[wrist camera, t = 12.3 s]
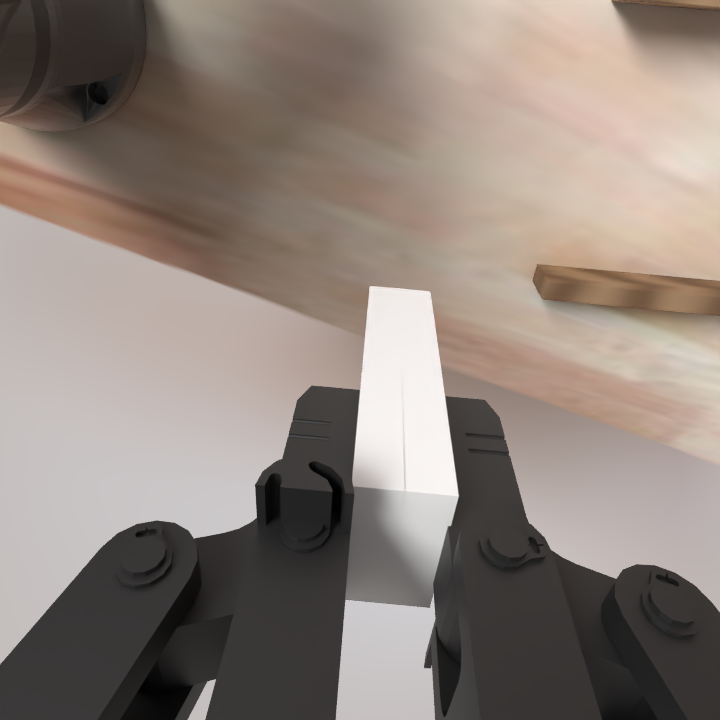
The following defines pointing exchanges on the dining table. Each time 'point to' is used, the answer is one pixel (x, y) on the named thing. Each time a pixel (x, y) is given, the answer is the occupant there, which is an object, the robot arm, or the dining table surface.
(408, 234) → the dining table surface
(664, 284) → the channel
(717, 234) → the dining table surface
